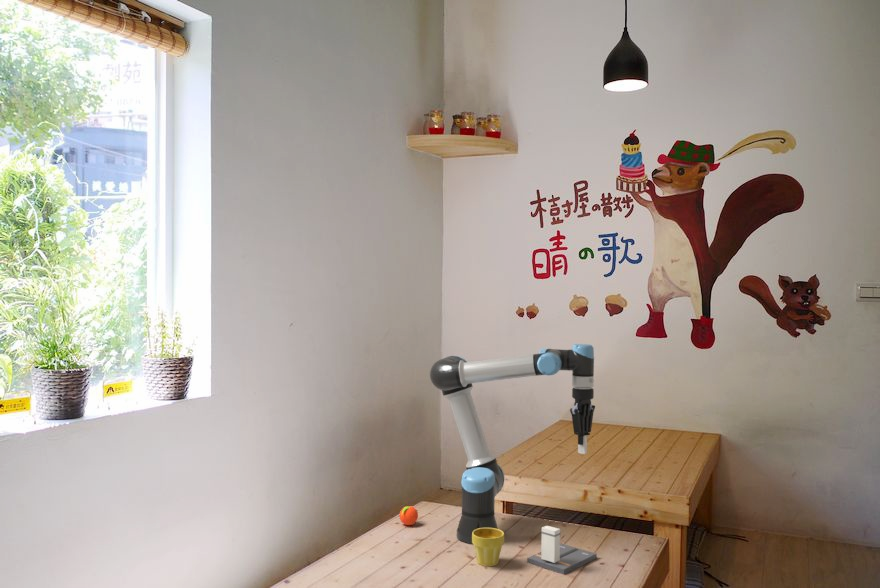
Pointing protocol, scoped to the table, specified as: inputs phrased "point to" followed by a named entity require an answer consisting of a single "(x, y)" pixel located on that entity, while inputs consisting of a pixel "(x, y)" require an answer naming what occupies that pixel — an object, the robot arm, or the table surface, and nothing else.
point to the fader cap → (550, 544)
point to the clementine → (408, 515)
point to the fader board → (564, 559)
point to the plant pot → (487, 545)
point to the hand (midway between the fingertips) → (582, 453)
